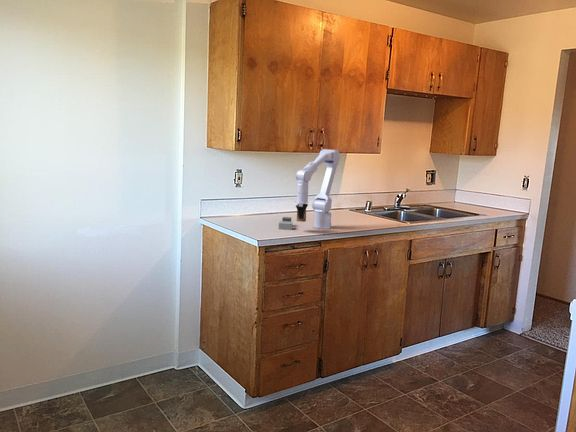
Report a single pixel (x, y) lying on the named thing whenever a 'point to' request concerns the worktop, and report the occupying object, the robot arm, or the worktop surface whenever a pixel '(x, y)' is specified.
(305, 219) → the walnut block
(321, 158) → the robot arm
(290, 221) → the charcoal block
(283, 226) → the slate base block
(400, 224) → the worktop surface
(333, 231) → the worktop surface
